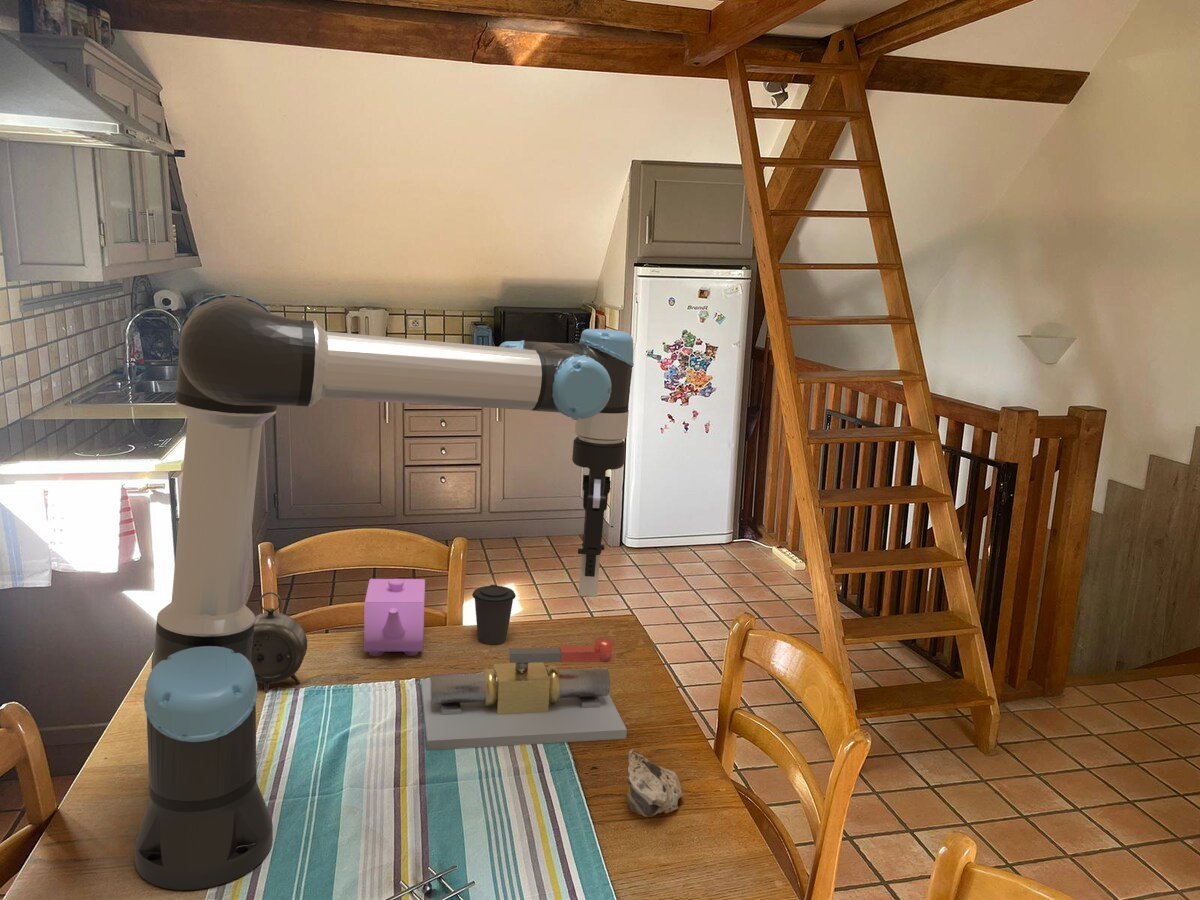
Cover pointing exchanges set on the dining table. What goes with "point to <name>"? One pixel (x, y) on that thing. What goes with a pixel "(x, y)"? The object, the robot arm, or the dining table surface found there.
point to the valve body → (519, 688)
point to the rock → (651, 787)
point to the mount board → (519, 724)
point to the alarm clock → (277, 646)
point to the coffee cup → (493, 613)
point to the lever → (563, 654)
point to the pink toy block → (394, 616)
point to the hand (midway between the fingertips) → (587, 594)
